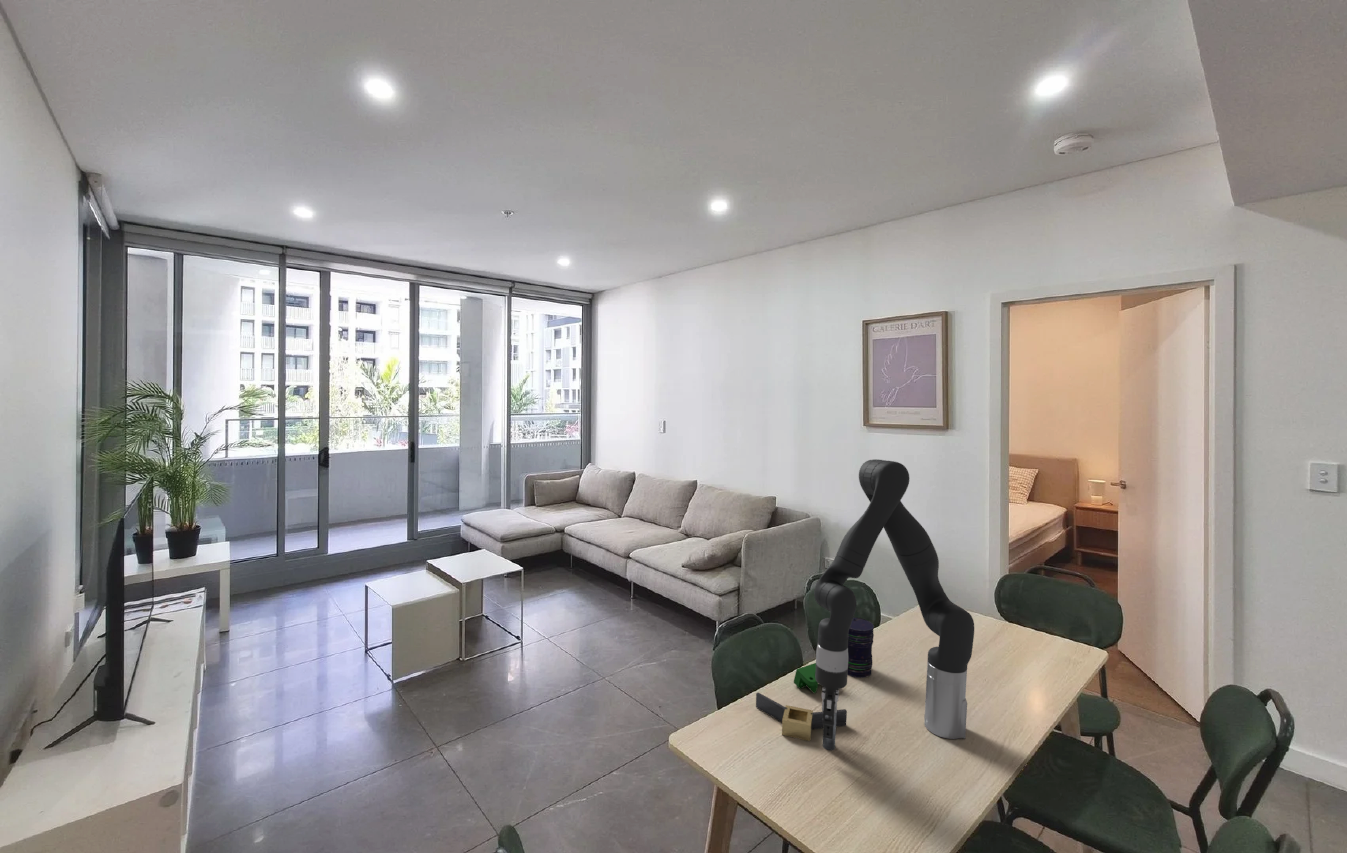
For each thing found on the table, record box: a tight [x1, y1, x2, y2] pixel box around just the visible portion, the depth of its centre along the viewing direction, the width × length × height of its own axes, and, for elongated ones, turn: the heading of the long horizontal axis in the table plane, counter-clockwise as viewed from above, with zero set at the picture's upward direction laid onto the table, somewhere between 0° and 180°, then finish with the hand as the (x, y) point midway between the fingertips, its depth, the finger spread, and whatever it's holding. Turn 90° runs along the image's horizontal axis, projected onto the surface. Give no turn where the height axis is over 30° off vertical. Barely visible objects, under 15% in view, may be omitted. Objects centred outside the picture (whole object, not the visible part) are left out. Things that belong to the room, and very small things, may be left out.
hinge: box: [755, 692, 848, 742], centre depth 143 cm, size 24×11×4 cm, turn 72°
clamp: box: [793, 662, 819, 694], centre depth 163 cm, size 12×6×9 cm, turn 113°
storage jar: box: [847, 616, 875, 679], centre depth 173 cm, size 10×10×15 cm
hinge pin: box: [821, 707, 837, 751], centre depth 135 cm, size 3×3×10 cm
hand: (828, 727), depth 135 cm, fingers open, 8 cm apart
